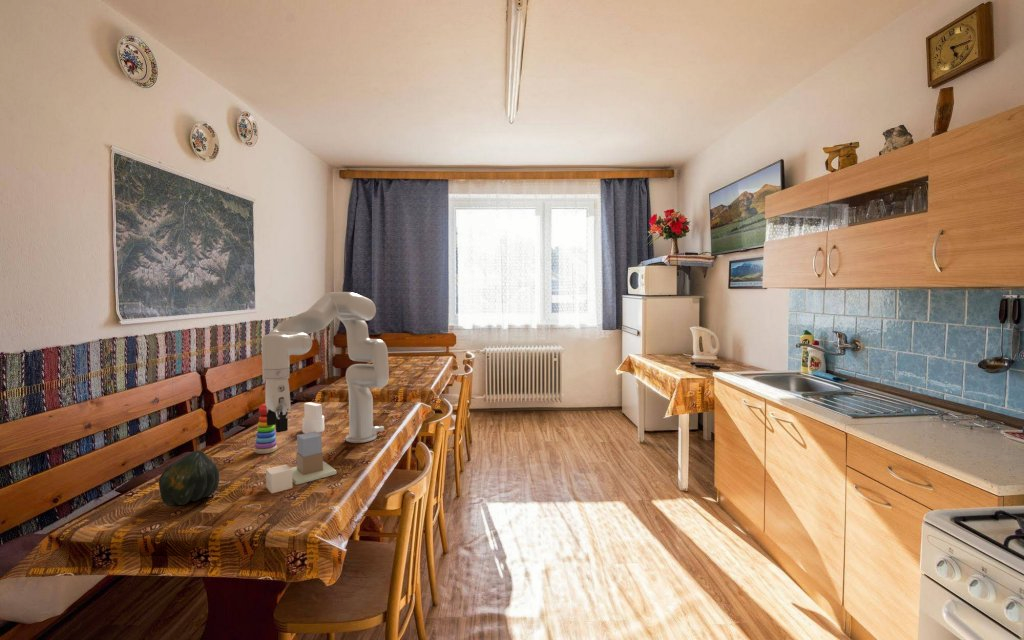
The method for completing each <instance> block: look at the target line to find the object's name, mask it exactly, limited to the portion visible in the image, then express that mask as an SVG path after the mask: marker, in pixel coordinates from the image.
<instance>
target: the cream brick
mask: <svg viewBox="0 0 1024 640" xmlns="http://www.w3.org/2000/svg"><path fill="white" fill-rule="evenodd" d="M291 468H292V467H290V466H289V465H288V464H286V463H285V464H282V465H278V466H277V465H276V466H273V467H272V466H271V467H269V468H267V467H266V468H265V485H266V488H267V490H268V491H269V492H270V493H271V494H275V493H279V492H282V491H287V490H290V489H293V487H294V486H293V481H292V469H291Z"/></svg>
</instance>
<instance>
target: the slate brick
mask: <svg viewBox="0 0 1024 640" xmlns="http://www.w3.org/2000/svg"><path fill="white" fill-rule="evenodd" d="M322 438H323V437H322V435H321V434H320V433H317V432H310V433H301V434H297V435H296V449H297V452H296V454H297V453H299V454H300V455H301V456H302V457H306V456H311V455H315V454H319V453H323V450H322V449H323V447H322V444H323V443H322V441H323V440H322Z"/></svg>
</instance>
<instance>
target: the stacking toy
mask: <svg viewBox="0 0 1024 640" xmlns="http://www.w3.org/2000/svg"><path fill="white" fill-rule="evenodd" d="M258 413H259V414H260V416H259V417H258V422H257V432H256V436H257V437H256V438H255V443H254V449H253V451H254V453H256V454H258V455H261V454H262V455H265V454H272V453H274V452H275V451H277V450H278V445H277V436H276V425H270V426H268V425H267V407H266V402H265V403H262V404H261V405H260V406H259V407H258Z"/></svg>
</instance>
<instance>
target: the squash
mask: <svg viewBox="0 0 1024 640" xmlns="http://www.w3.org/2000/svg"><path fill="white" fill-rule="evenodd" d="M219 483H220V472H219V469H218V466H217V465H216V464H215V462H213V460H211V459H210V457H209V456H207V455H206V453H205V452H204V451H203V450H201V449H199V450H195V451H194V450H193V451H191V452H189V453H187V454H185V455H184V456H182V457H181V458H179V459H177V460H176V461H174V462H173V463H171V464H170V465H168V466H167V467H165V469H164V470H163V471H162V472H161V475H160V477H159V479H158V490H159V493H160V498H161V501H162V503H164V504H165V505H167V506H170V507H171V506H177V505H180V506H184V505H187V504H188V503H189V502H190V501H192V502H195V501H198V500H200V499H203V498H206V497H208V496H211V495H213V494H214V493H215V492H216V490H218V487H219Z"/></svg>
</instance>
